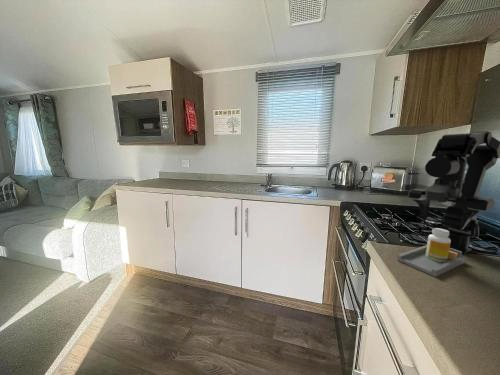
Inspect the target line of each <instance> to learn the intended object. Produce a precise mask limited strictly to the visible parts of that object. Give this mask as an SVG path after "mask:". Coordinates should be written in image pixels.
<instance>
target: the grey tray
mask: <svg viewBox="0 0 500 375" xmlns="http://www.w3.org/2000/svg"><path fill="white" fill-rule="evenodd" d="M426 248H427V244H425V245H423V246H420V247H417V248H414V249H411V250H407V251H405V252H402V253H399V254H397V259H396V260H397V261H398V262H401V263H403V264H405V265H408V266H409V267H412V268H414V269H416V270H419V271H421V272H423V273H426V274H427V275H429V276H432V277H434V278H436V277H438V276H440V275H442V274H444V273H447V272H449V271H451V270H453V269H454V268H456V267H460V266H461V265H463V264H465V262H466V257H465V256H462V254H463V253H462V251H459V250H455V249H452V248H450V249H449V251H452V252H456V253H458V255H457V258H456V259H453V260H449V259H448V260H447V261H446V262H438V261H435V260H432V259H430V258H428V257H426Z"/></svg>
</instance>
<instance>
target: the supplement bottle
mask: <svg viewBox="0 0 500 375" xmlns="http://www.w3.org/2000/svg"><path fill="white" fill-rule="evenodd" d="M431 233H432V234H429V235H428V237H427V243H426V245H427V248H426V257H428V258H430V259H432V260H435V261H438V262H446V261H447V260H448V254H449V249H450V243H451V240H450V239H449V238H448V236H449V231H447V230H444V229H441V227H440V228H439V227H433V228H432V230H431Z"/></svg>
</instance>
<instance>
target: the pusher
mask: <svg viewBox="0 0 500 375" xmlns="http://www.w3.org/2000/svg"><path fill="white" fill-rule="evenodd" d="M457 255H458V253H456V252H452V251H449V254H448V259H449V260H453V259H456V258H457Z"/></svg>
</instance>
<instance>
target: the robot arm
mask: <svg viewBox="0 0 500 375" xmlns="http://www.w3.org/2000/svg"><path fill="white" fill-rule="evenodd" d="M492 135H493V134H492V132H491V131H488V130H486V131H485V130H484V131H472V132H469V133H454V134H453V133H451V134H443V135H442V136H441V138H439V140H438V141H437V143H436V145H435V147H434V149H433V151H432V153H431V157H433V158H431V159H430V160H429V159H428V161H427V162H426V164H425V166H424V168H425V169H424V170H425V172H426V174H427V175H429V176H430V177H433V178H434V183H433V184H432V185H430V186H429V187H427V188H426V189H424V188H413V189H410V190H409V191H408V196H407V197H408V198H410V199H411V201H414V202H415V203H416V204H417V205H418V207H419V210H420V213H421V217H422V219H423V221H427V219H428V217H429V212H430V204H431V201H433V202H438V203H441V204H442V203H443V204H444V203H447V202H450V203H455V204H453V205H449V206H447V208H446V210H445V213H443V214H442V217H441V225H440V226H441V227H440V229H444V230H447V231H449V236H448V238H449V239H450V240H451V243H450V248H452V249H455V250H459V251H462V254H467V253H468V252H471V251H472V248H470V247H468V246H469V241H470V238H479V235H480V225H479V222H478V220H477V219H478V218H477V217H478V216H477V215H478V214H479V213H483V212H486V211H490V210H493V209H494V208H495V201H494V199H493V198H489V197H482V196H480V197H479V193H480V189H481V187H482V183H483V180H484V178H485V175H486V172H487V170H489V169H491V168H492V167H493V166H495V165H496V163H497V161H498V159H500V140H498V139H497V138H495V137H494V136H492ZM466 166H468V167H466ZM466 168H467V170H466Z"/></svg>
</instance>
